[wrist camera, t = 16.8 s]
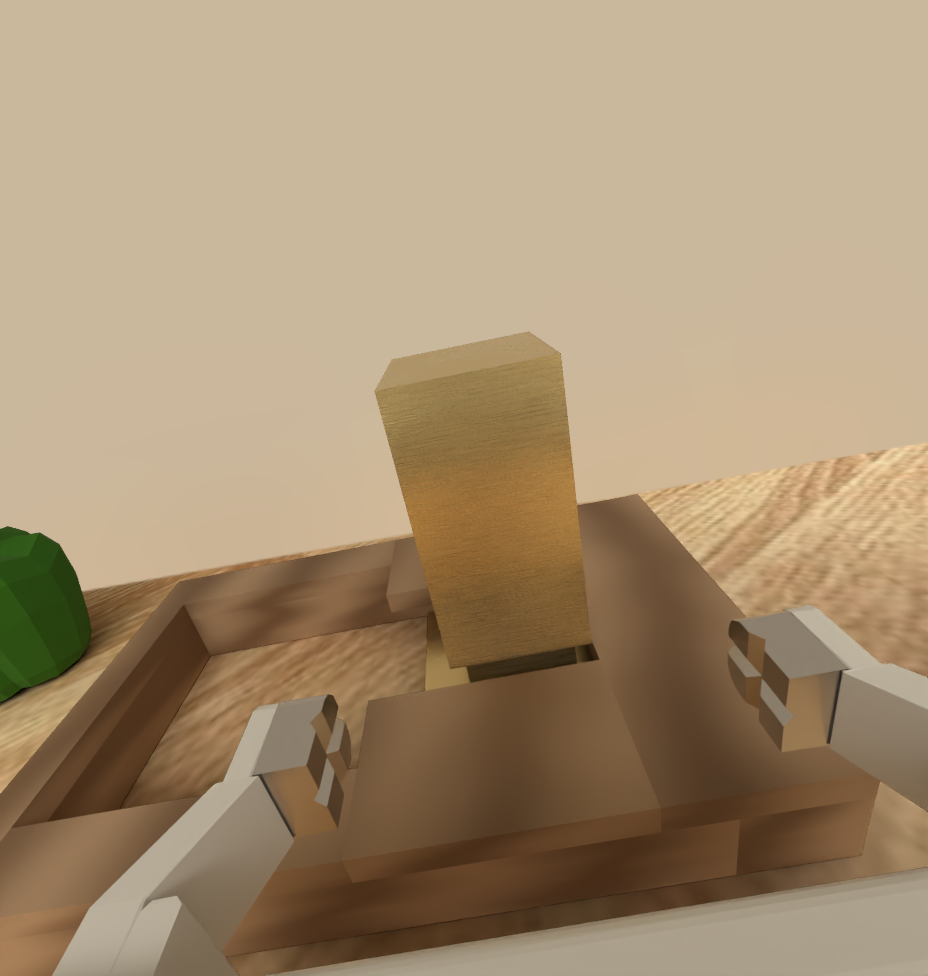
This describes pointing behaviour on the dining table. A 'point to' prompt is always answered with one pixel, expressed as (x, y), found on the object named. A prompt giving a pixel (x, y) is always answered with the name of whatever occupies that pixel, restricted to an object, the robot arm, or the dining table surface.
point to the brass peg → (490, 506)
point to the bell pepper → (37, 611)
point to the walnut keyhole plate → (446, 759)
